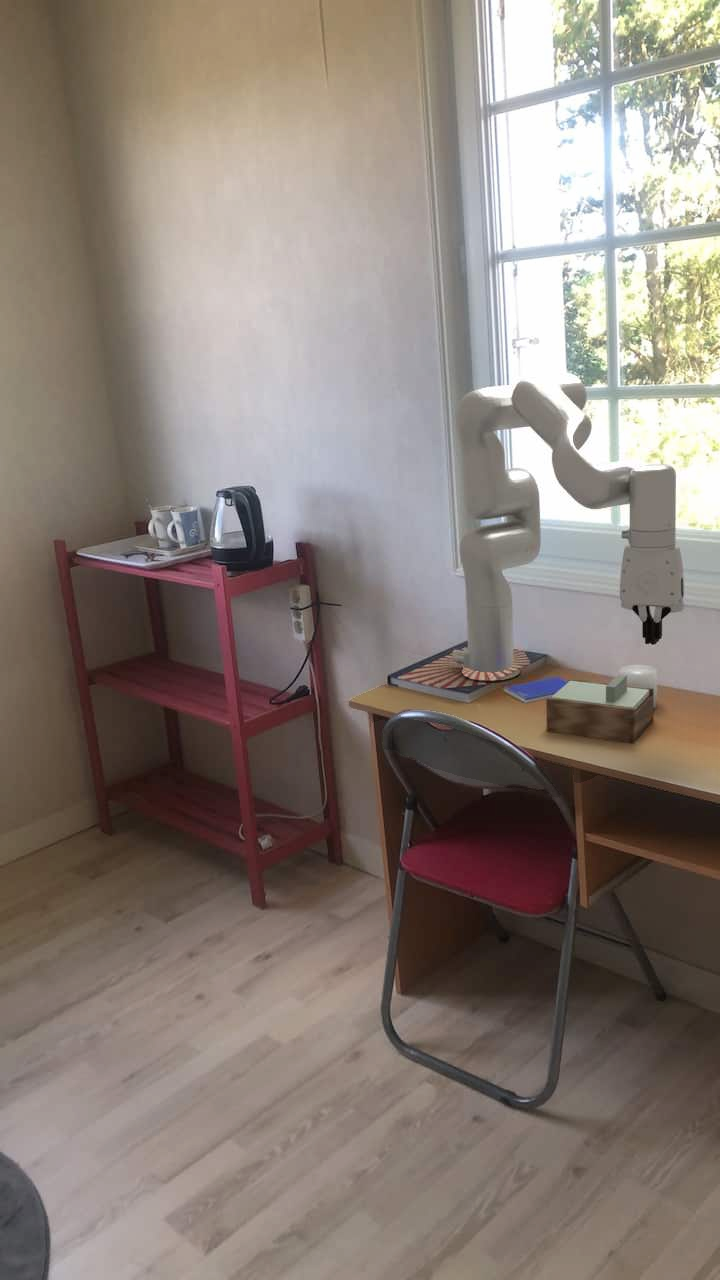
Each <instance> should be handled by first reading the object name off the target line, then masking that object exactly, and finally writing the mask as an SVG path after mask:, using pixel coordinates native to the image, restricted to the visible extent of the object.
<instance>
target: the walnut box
mask: <svg viewBox="0 0 720 1280" xmlns="http://www.w3.org/2000/svg"><path fill="white" fill-rule="evenodd" d="M569 681H578V682H587V683H596V684H604V685H608V684H609V683H610V682H600V681H593V680H584V679H575V678H568V682H569ZM627 687H630V688H638V689H647V690H649V696H648V697H647V698H646V699H645V700H644V701H643V702H642V703H641V705H640V706H639V707H638V708H637V709H636V710H635V709H634V708H626V707H618V706H610V705H602V704H594V703H586V702H578V701H570V700H562V699H554V698H546V700H545V702H546V731H547V732H553V733H554V732H555V733H560V734H568V735H573V736H581V737H589V738H595V739H603V740H609V741H616V742H623V743H630V744H634V743H635V742H636V741H637V740H638V739H639V737H641V736H642V734H643V733H644V732H645V730H646V729H647V728H648V727H649V726H650V725H651V723H653V721H654V709H653V702H654V688H646V687H637V686H629V685H627Z"/></svg>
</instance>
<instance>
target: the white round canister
mask: <svg viewBox="0 0 720 1280" xmlns="http://www.w3.org/2000/svg"><path fill="white" fill-rule="evenodd" d="M618 674H619V675H627V685H629V686H637V687H646V688H654V702H653V710H654V709H656V708H657V700H658V669H657V668H655V667H653V666H651V665H647V664H629V665H623V666H621V667H620V668H619V669H618Z"/></svg>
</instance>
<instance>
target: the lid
mask: <svg viewBox="0 0 720 1280" xmlns="http://www.w3.org/2000/svg"><path fill="white" fill-rule="evenodd" d="M567 682H568V683H567V684H566V685H565V686H564V687H562V688H561V689H560V690H559V691H558V692H557V693H555V694H554V695H553V696H552V697H551V698H554V699H562V700H570V701H578V702H586V703H594V704H602V705H610V706H618V707H626V708H634V709H635V710H636V709H637V708H638V707H639V706H640V705H641V703H642V702H643V701H644V700H645V699H646V698H647V697H648V696H649V690H647V689H638V688H630V687H627V675H619V673H618V674H617V675H616V676H615V677H614V678H612V680H611V681H610V682H608V683H609V684H608V685H604V684H596V683H587V682H578V681H569V680H568V681H567Z"/></svg>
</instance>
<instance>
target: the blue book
mask: <svg viewBox="0 0 720 1280" xmlns="http://www.w3.org/2000/svg"><path fill="white" fill-rule="evenodd" d="M568 682H569V681H567V680H564V679H563V678H560V677H558V676H553V677H550V678H549V677H548V678H543V679H540V680H535V681H530V682H524V683H520V684H513V685H510V686H504V687H503V692H505V694H508V695H510V696H512V697H513V698H515V699H516V700H517V699H518V701H521V702H523V703H525V704H527V703H533V702H536V701H541V700H545V699H547V698H551V697H552V696H553V695H554V694H555V693H557V692H558V691H559V690H560V689H561V688H562V687H564V686H565V685H566V684H567V683H568Z"/></svg>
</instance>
